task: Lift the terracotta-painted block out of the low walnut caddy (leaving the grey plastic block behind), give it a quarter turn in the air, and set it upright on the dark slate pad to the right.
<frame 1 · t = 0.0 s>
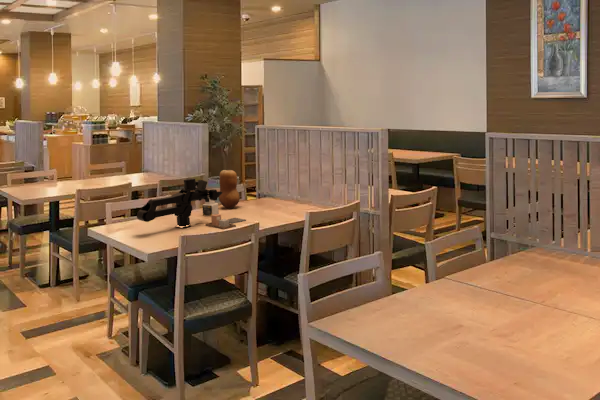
hand: (217, 191, 355), 17 cm above the table, tool horizontal, fingers open, 9 cm apart
grey block: (224, 226, 336), resting in caddy
caddy: (220, 225, 339), on the table
terracotta block: (216, 225, 341), resting in caddy
slate pad: (233, 221, 350), on the table
medicine bottle: (210, 215, 371), on the table
butternut squash: (229, 208, 392), on the table
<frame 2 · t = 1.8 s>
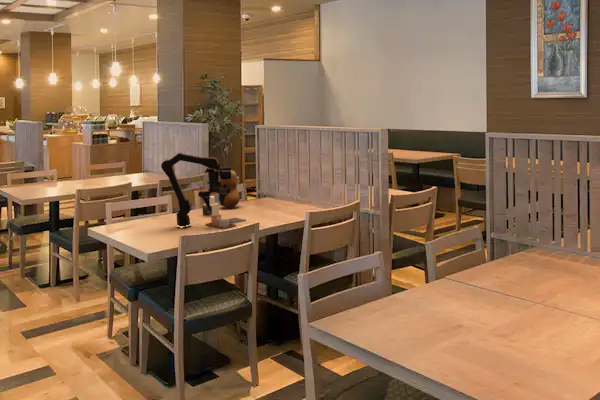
hand: (215, 207, 339), 10 cm above the table, tool pointing down, fingers open, 9 cm apart
nothing on the table moved.
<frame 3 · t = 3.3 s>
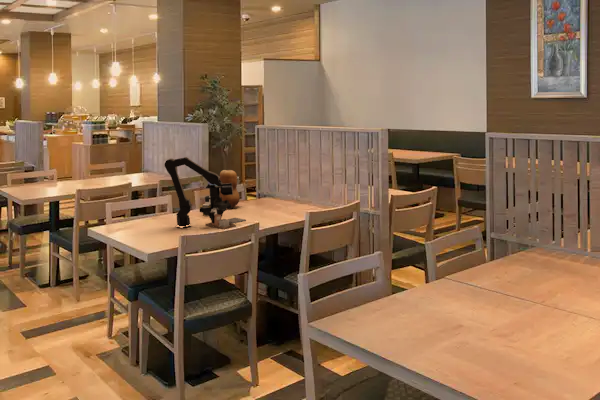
hand: (216, 222, 341), 2 cm above the table, tool pointing down, fingers closed on terracotta block, 4 cm apart
terracotta block: (216, 225, 341), resting in caddy, touching gripper
everything else where it was.
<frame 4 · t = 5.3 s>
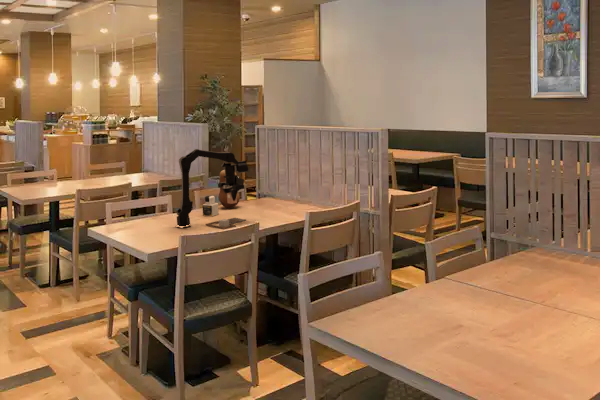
hand: (232, 200, 348), 12 cm above the table, tool pointing down, fingers closed on terracotta block, 4 cm apart
terracotta block: (232, 202, 348), point 11 cm above the table, touching gripper
everything else where it was.
when the fingers open (3 cm above the table, at t = 7.4 s): terracotta block stays where it is, resting on slate pad.
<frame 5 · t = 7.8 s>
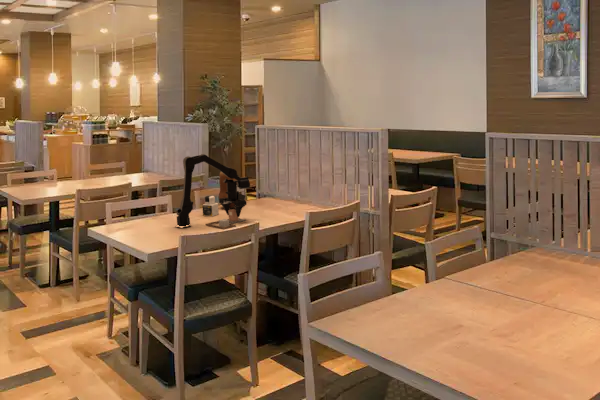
hand: (233, 216, 350), 3 cm above the table, tool pointing down, fingers open, 9 cm apart
terracotta block: (233, 220, 350), point 1 cm above the table, touching slate pad
everything else where it was.
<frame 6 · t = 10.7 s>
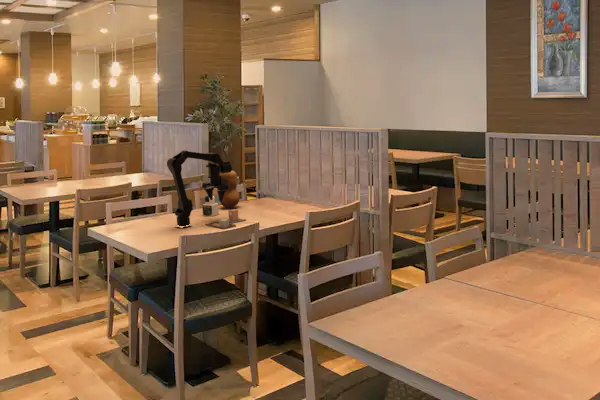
hand: (216, 200, 351), 12 cm above the table, tool pointing down, fingers open, 9 cm apart
nothing on the table moved.
at the end: terracotta block inside the target area on the slate pad (0.0 cm from its centre), point 0.6 cm above the slate pad's base; terracotta block tilted 0°; the gripper is holding nothing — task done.
